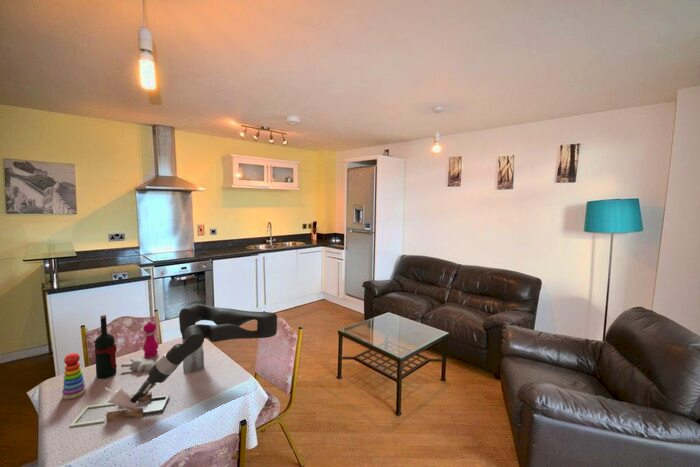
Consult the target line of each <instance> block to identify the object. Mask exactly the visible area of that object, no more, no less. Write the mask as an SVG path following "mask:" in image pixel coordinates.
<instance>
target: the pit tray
mask: <svg viewBox="0 0 700 467" xmlns="http://www.w3.org/2000/svg"><path fill="white" fill-rule="evenodd" d="M169 400H170V394H169V395H168V394H167V395H161V396H152V397H151V401H148V404H147V406H146V407H145V409H144V410H143V416H147V415H153V414H154V415H155V414H161V413H163V412H164V410H165V407H166V406H167V404H168V401H169Z"/></svg>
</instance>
